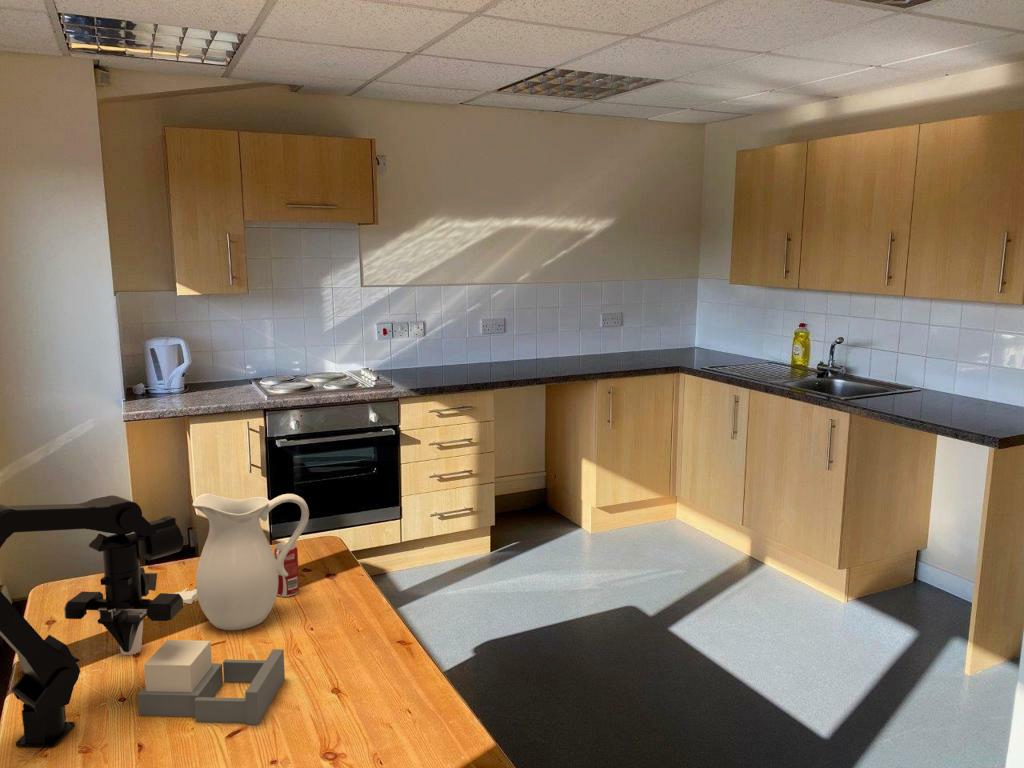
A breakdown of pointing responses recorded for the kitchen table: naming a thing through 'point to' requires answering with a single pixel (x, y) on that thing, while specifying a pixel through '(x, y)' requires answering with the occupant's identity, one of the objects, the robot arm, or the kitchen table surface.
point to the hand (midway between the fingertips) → (127, 651)
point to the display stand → (228, 710)
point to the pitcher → (240, 560)
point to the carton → (178, 666)
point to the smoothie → (135, 642)
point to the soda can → (288, 571)
